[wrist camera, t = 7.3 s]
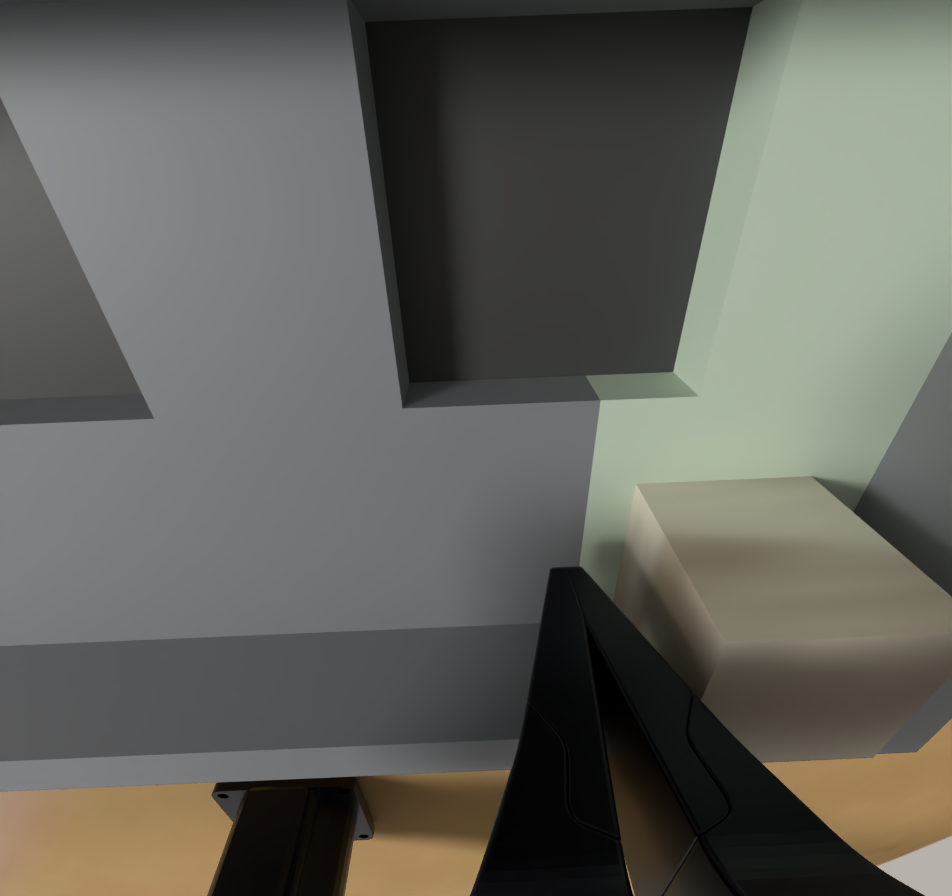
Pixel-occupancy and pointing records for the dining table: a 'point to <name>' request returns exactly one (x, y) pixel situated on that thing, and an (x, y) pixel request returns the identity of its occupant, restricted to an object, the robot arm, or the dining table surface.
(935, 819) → the dining table surface
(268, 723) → the box
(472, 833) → the dining table surface
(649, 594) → the birch block
